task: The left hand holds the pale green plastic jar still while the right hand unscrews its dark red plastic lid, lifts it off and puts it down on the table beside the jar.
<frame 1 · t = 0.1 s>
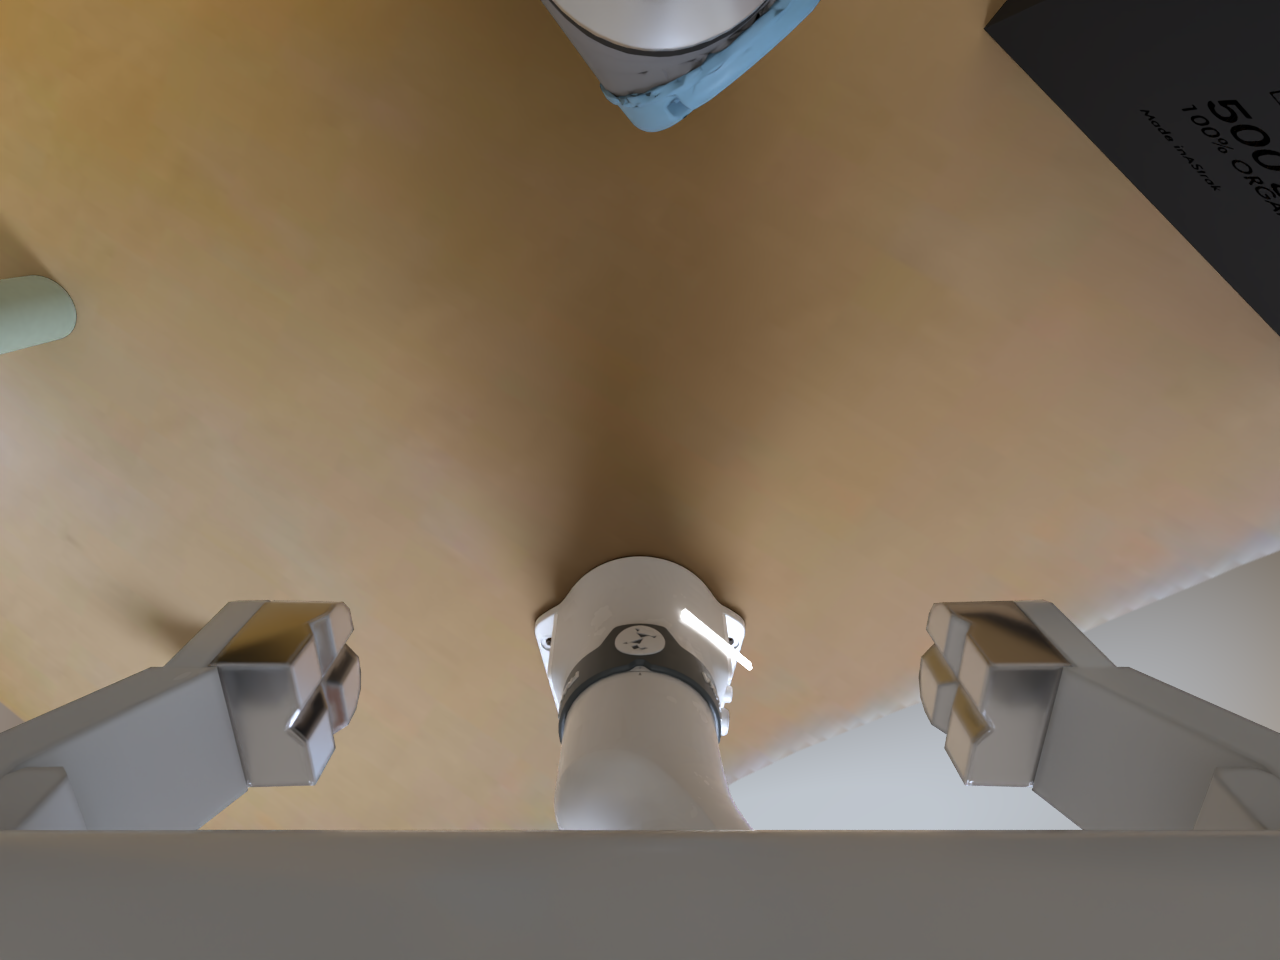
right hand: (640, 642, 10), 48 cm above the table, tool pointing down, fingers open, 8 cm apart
jar: (43, 308, 56), on the table
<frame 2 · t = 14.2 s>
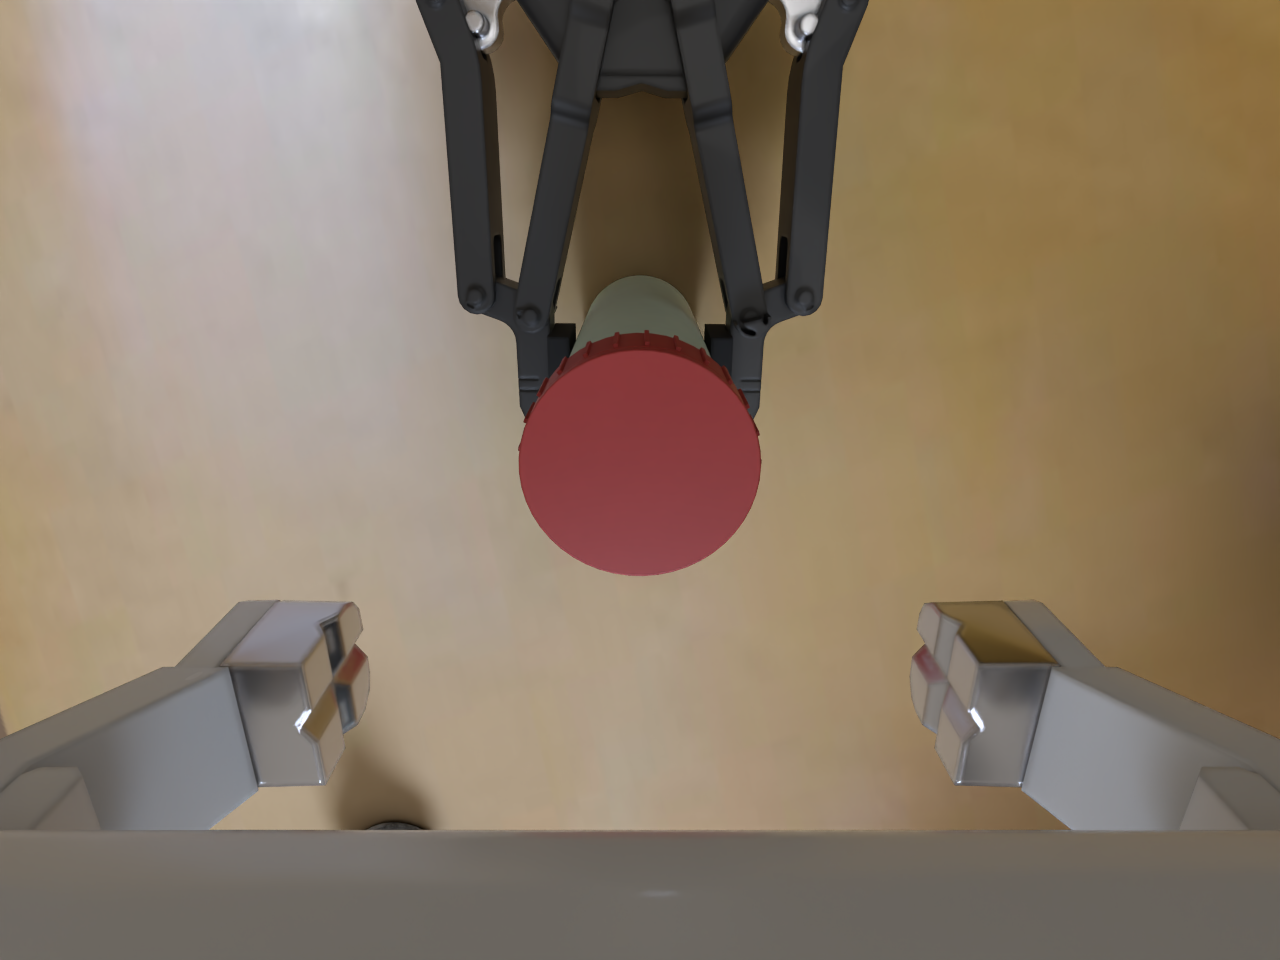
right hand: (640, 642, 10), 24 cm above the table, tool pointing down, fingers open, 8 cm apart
left hand: (639, 496, 29), fingers closed on jar, 5 cm apart
lid: (639, 464, 17), point 17 cm above the table, screwed on, not yet turned
jar: (640, 331, 32), on the table, touching left hand
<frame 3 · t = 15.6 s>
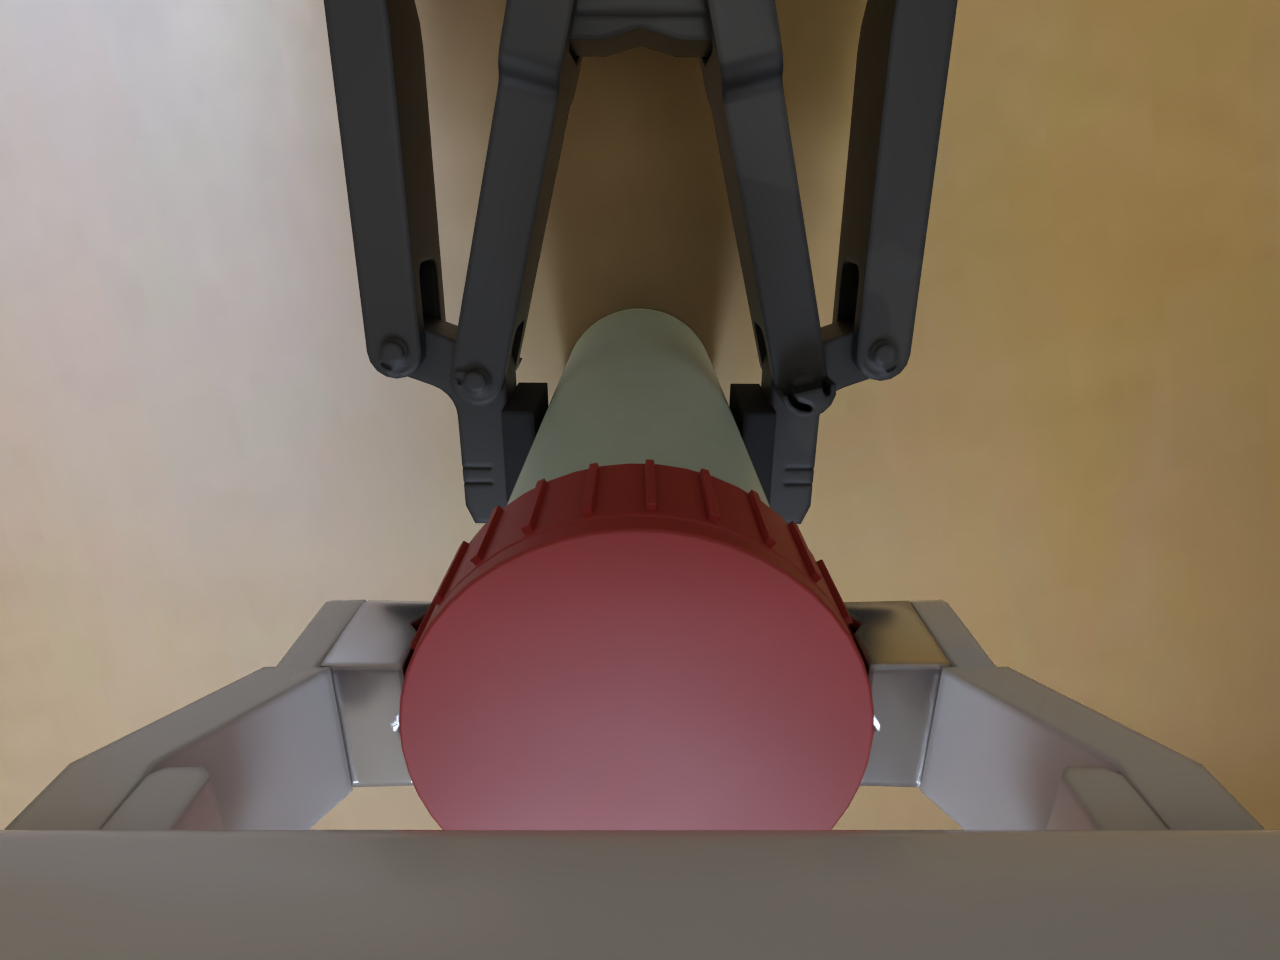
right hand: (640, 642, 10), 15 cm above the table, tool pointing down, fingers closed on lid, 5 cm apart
left hand: (637, 620, 21), fingers closed on jar, 5 cm apart
lid: (636, 723, 9), point 17 cm above the table, screwed on, not yet turned, touching right hand
jar: (639, 382, 24), on the table, touching left hand
when the right hand's fingers open (15 cm above the table, at t = 17.0 s): lid stays where it is, point 17 cm above the table.
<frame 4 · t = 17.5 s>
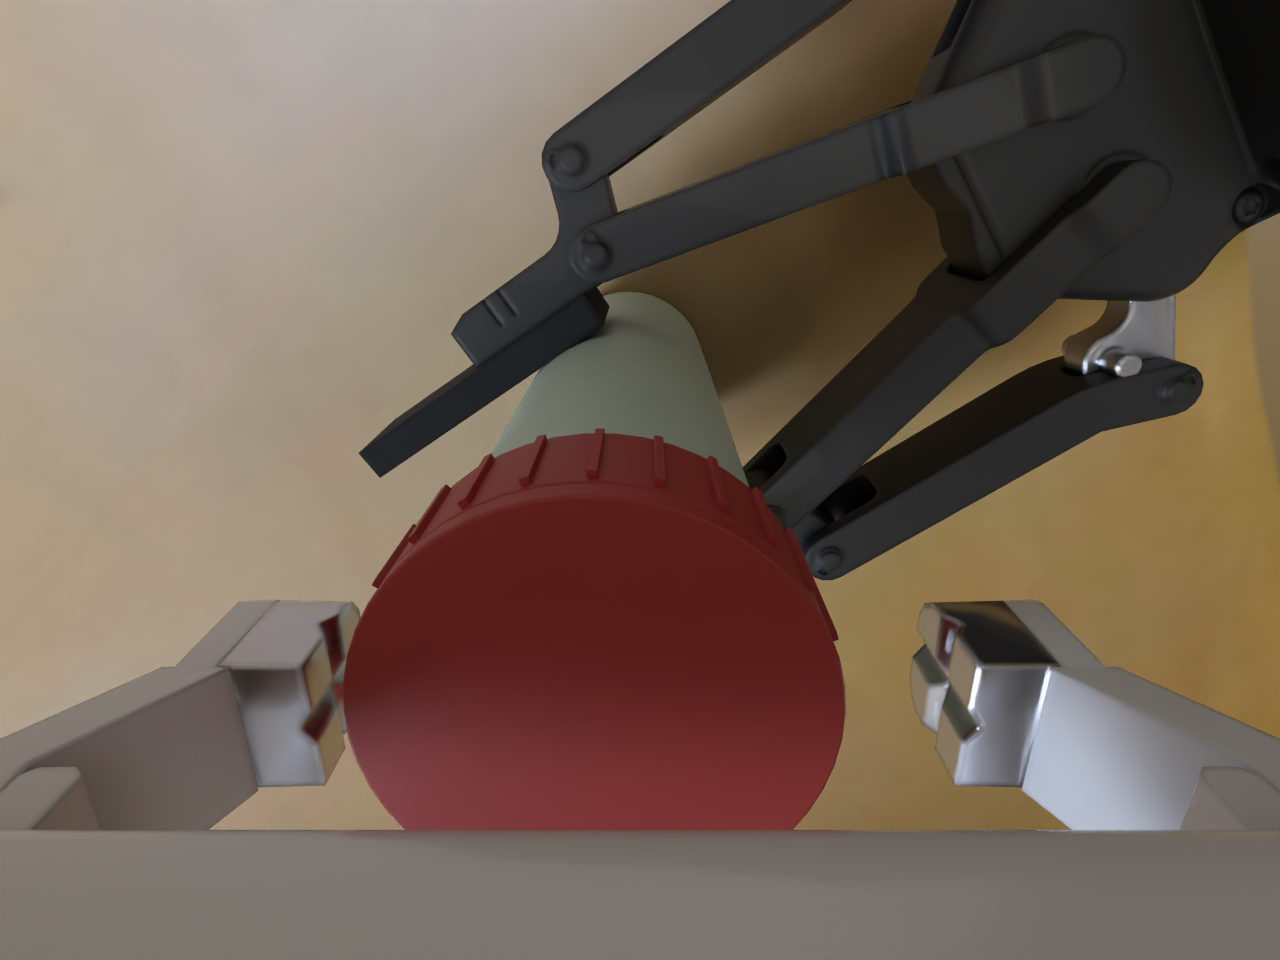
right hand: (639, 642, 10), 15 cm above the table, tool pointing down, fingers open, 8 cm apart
left hand: (459, 529, 19), fingers closed on jar, 5 cm apart
lid: (596, 705, 8), point 17 cm above the table, turned 88° so far, risen 0.2 cm, still on its thread
jar: (628, 367, 24), on the table, touching left hand
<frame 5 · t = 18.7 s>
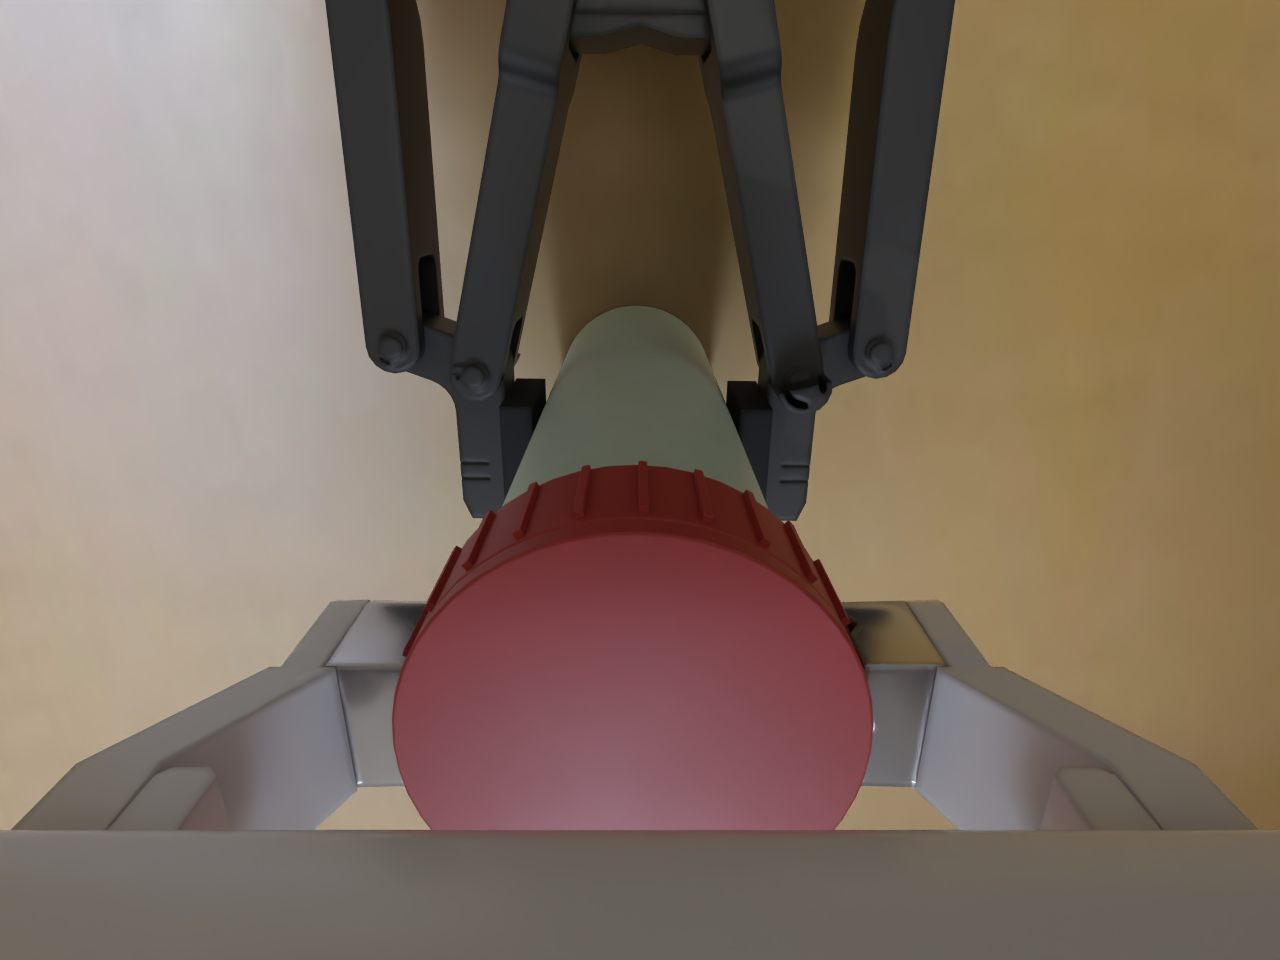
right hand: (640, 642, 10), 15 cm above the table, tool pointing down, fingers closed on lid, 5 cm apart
left hand: (634, 616, 21), fingers closed on jar, 5 cm apart
lid: (633, 727, 9), point 17 cm above the table, turned 88° so far, risen 0.2 cm, still on its thread, touching right hand
jar: (636, 379, 24), on the table, touching left hand
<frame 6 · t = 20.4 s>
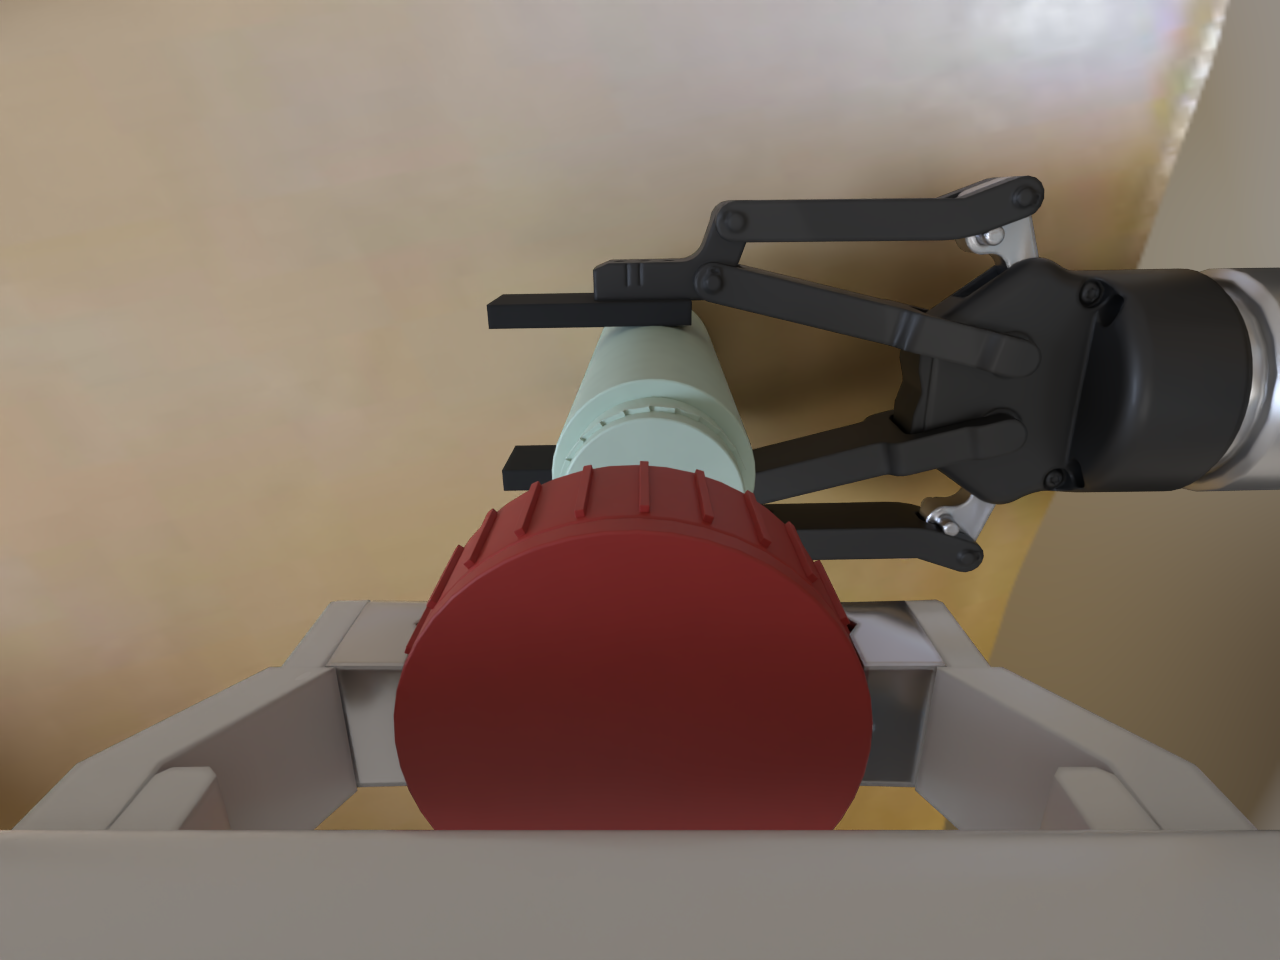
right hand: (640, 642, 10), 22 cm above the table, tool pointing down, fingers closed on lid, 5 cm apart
left hand: (504, 392, 26), fingers closed on jar, 5 cm apart
lid: (633, 726, 9), point 24 cm above the table, off its thread, touching right hand
jar: (654, 354, 31), on the table, touching left hand
when the right hand's fingers open (2 cm above the table, at t = 26.0 s): lid drops 2 cm, point 2 cm above the table.
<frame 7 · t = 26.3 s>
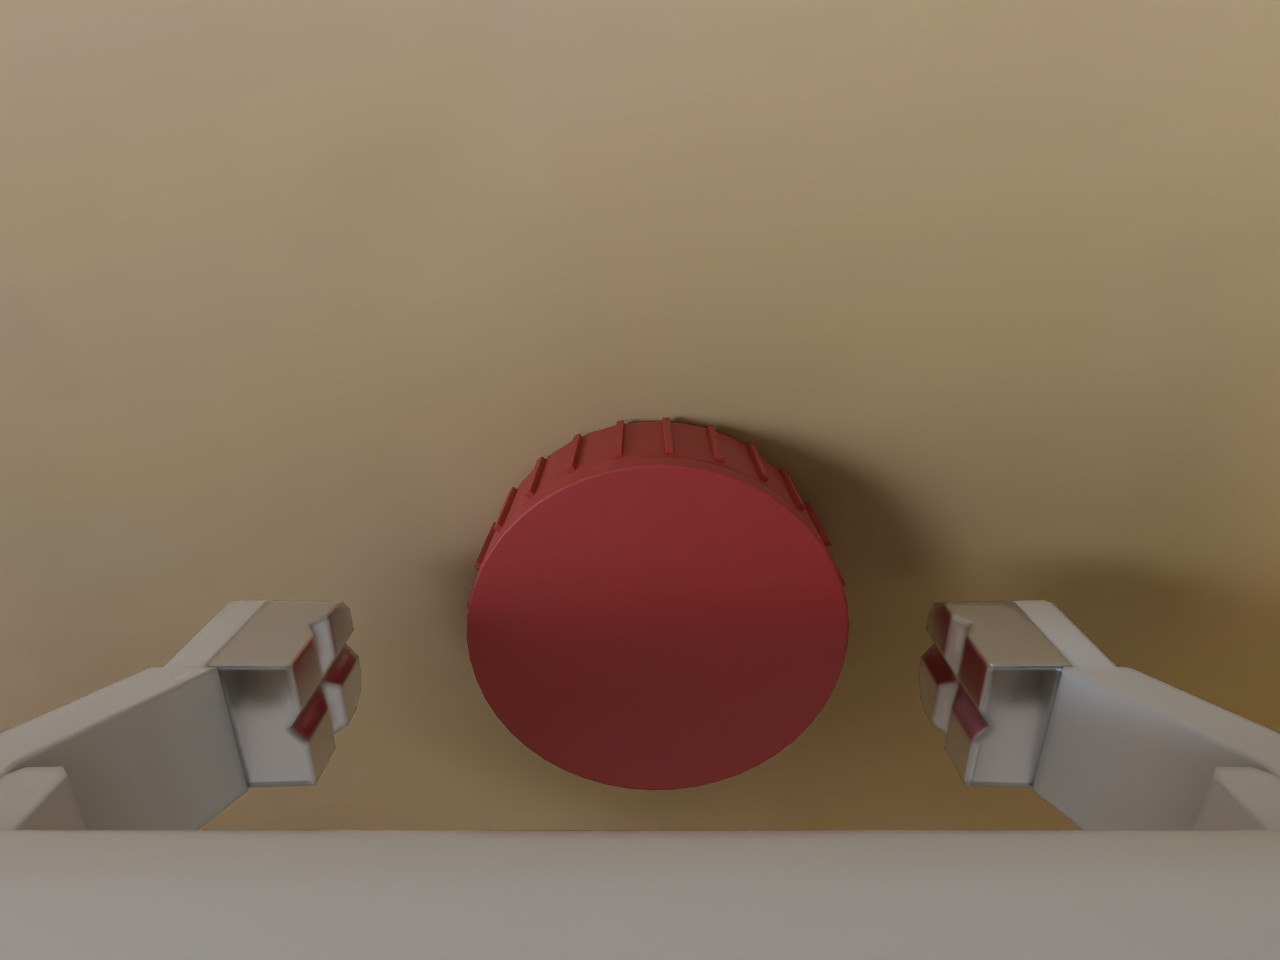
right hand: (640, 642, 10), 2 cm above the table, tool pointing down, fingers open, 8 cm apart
lid: (657, 630, 11), point 2 cm above the table, off its thread
when the left hand's fingers open (6 cm above the table, at t = 26.8 s): jar stays where it is, on the table.
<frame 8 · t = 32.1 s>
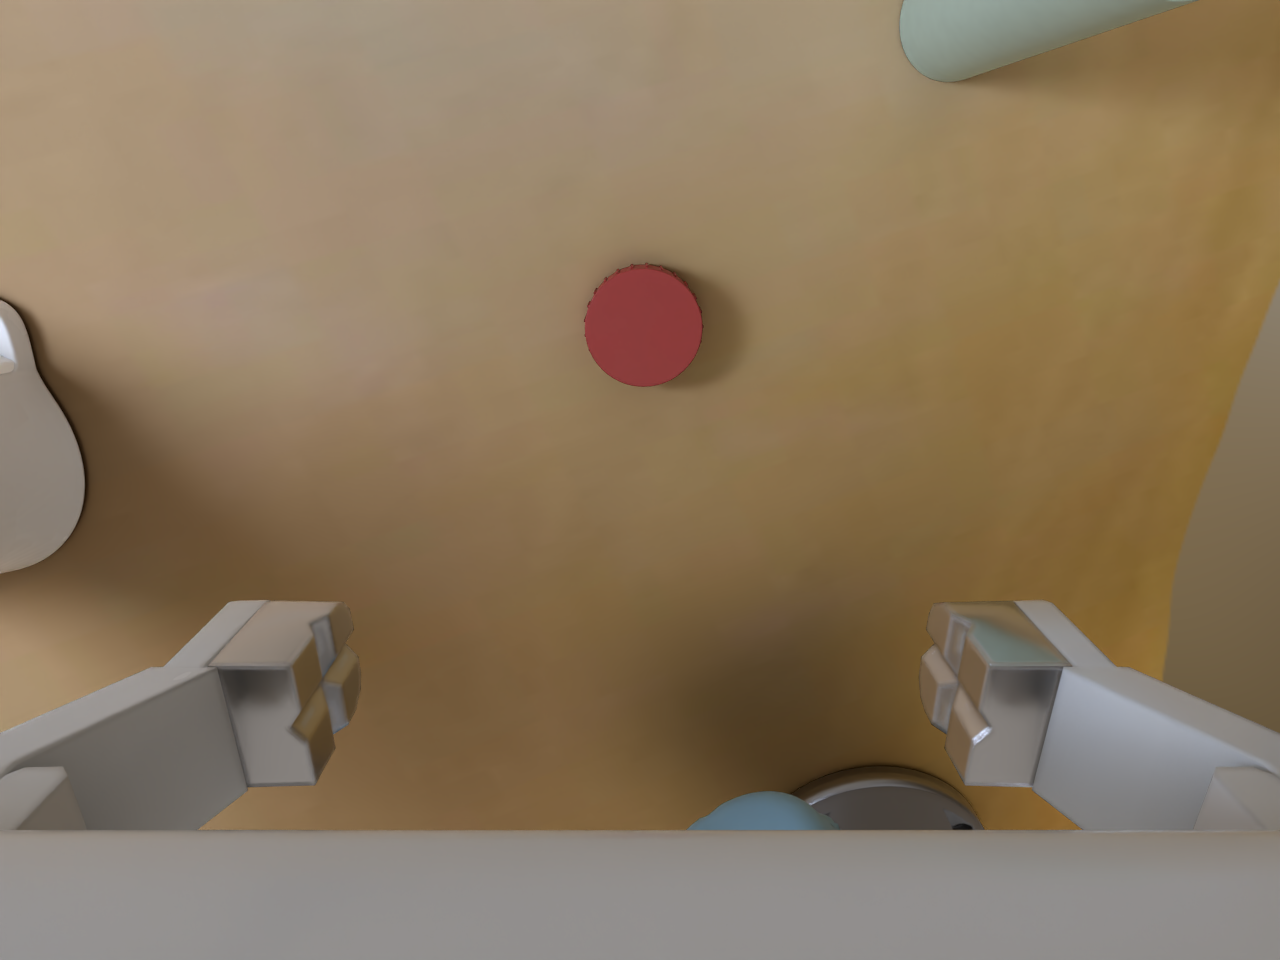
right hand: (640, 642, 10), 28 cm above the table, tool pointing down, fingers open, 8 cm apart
lid: (643, 328, 35), point 2 cm above the table, off its thread
jar: (956, 18, 31), on the table
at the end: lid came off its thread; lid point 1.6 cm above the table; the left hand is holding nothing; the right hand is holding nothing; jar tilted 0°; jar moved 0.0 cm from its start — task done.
